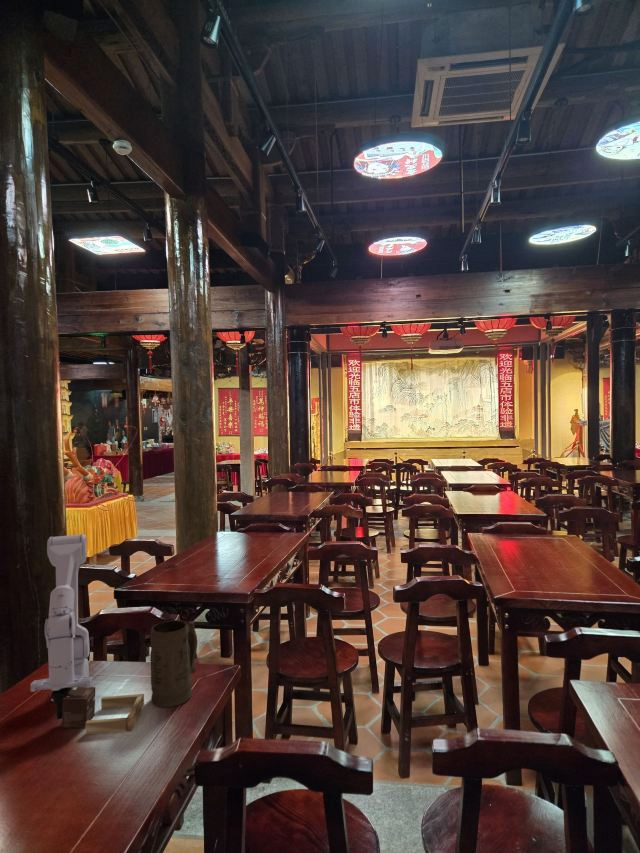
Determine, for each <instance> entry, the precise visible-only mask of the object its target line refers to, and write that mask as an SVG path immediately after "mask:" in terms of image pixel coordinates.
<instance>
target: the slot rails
mask: <svg viewBox="0 0 640 853" xmlns="http://www.w3.org/2000/svg"><path fill="white" fill-rule="evenodd" d="M100 699H101V700H100V704H101V705H100V706H101V710H102V711H103V710H114V709H117V710H118V709H130V710H129V713H128V714H127V716H126V717H115V718H103V719H92V720H87V722H86V723H85V726H86V727H85V735H86V734H89V735H98V734H97V733H102V734H110V733H111V732H113V734H114V732H115V733H126V732H132V731H133V728H134V726H135V725H136V722H137V719H138V718H139V715H140V714H141V712H142V710H143V708H144V705H145V694H144V693H139V694H137V693H136V694H134V693H133V694H123V695H112V696H111V695H110V696H109V695H107V696H101V698H100Z"/></svg>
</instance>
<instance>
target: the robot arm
mask: <svg viewBox="0 0 640 853" xmlns="http://www.w3.org/2000/svg"><path fill="white" fill-rule="evenodd" d="M46 543H47V544H46V553H47V558H48V559H49V562H50V564H51V566H53V567H55V588H54V589H53V590H52V591H51V592H50V599H49V608H48V609H49V610H48V618H46V619H45V623H44V637H45V641H46V642H45V643H46V648H47V654H48V656H47V657H48V678H43V679H38V680H37V679H36V680H33V681H32V682H31V683H30V692H31V693H32V692H36V691H43V690H44V691H45V690H51V691H52V692H51V694H50V697H51V699H50V700H51V702H54V703H55V704H56V720H62V710H63V698H64V697H65V696H66V694H67V693H68V692H69V691H70V690H71V689H72V688H76V687H86V688H90V687H93V685H94V677H93V676H90V667H89V665H90V663H89V660H88V658H89V656H90V637H89V636H90V635H89V631H88V629H87V628H86V627H84V626H82V625H81V624H79V570H80V566H81V565H83V564H84V563H86V561H87V557H88V556H87V554H88V553H87V552H88V550H87V548H88V547H87V544H88V542H87V535H86V534H85V533H81V534H71V535H61V536H60V535H58V536H50V537H49V538H48V539H47V542H46Z"/></svg>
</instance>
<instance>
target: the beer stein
mask: <svg viewBox="0 0 640 853" xmlns="http://www.w3.org/2000/svg"><path fill="white" fill-rule="evenodd" d="M149 633H150V634H149V636H150V684H151V686H150V687H151V692H152V694H151V703H152V704H153V705H154V706H156V707H161V708H171V707H176V706H179V705H183V704H184V703H185V702H187V701H189V700H190V699H191V697H193V696H192V695H193V690H192V686H191V685H192V674H195V673H196V672H197V668H196V666H195V664H194V663H195V658H196V653H197V648H198V637H197V631H196V629H195V621H192V620H191V621H188V622H185V621H183V620H180V619H179V620H176V619H175V620H166V621H162V622H159V623H157V624H154V625H152V627H151V629H150V632H149Z"/></svg>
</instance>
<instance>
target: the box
mask: <svg viewBox="0 0 640 853" xmlns="http://www.w3.org/2000/svg"><path fill="white" fill-rule="evenodd" d="M95 711H96V687H95V686H91V687H90V688H86V687H76V688H72V689H71V690H70V691H69V692H68V693H67V694H66V696H65V697H64V698H63V710H62V718H61V728H86V726H85V723H86V722H87V720H91V719H92V720H93V718H94V716H95V714H96V713H95Z"/></svg>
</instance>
